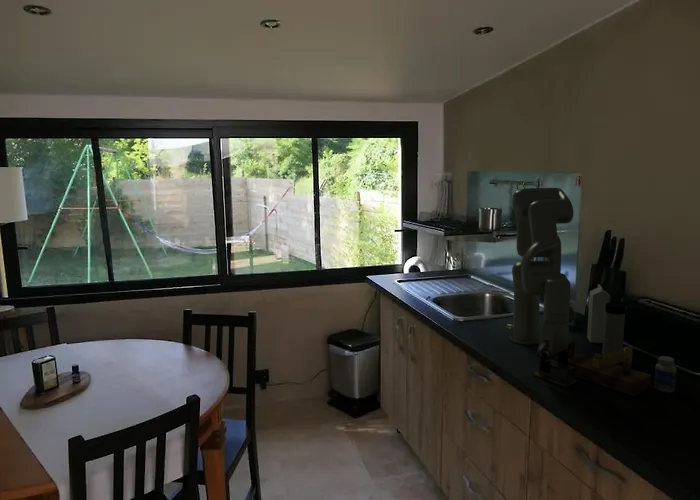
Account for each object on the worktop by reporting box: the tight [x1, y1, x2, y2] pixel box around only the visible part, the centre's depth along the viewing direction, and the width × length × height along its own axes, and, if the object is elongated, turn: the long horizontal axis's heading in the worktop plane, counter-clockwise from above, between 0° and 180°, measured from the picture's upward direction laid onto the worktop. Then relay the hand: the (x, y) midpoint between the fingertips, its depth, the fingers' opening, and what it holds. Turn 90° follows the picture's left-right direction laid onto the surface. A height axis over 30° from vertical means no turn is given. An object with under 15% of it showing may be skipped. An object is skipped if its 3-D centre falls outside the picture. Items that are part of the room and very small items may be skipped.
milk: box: [586, 283, 611, 344], centre depth 188 cm, size 6×6×22 cm
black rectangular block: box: [537, 358, 576, 384], centre depth 157 cm, size 10×4×4 cm, turn 35°
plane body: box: [553, 340, 653, 398], centre depth 156 cm, size 26×10×9 cm, turn 35°
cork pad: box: [531, 369, 577, 388], centre depth 158 cm, size 12×6×1 cm, turn 35°
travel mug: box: [601, 301, 628, 354], centre depth 172 cm, size 6×7×20 cm
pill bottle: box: [653, 355, 678, 393], centre depth 147 cm, size 5×5×10 cm
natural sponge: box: [569, 306, 575, 324], centre depth 207 cm, size 9×9×10 cm
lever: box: [592, 345, 634, 375], centre depth 146 cm, size 15×2×9 cm, turn 115°
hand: (554, 367), depth 157 cm, fingers open, 9 cm apart
